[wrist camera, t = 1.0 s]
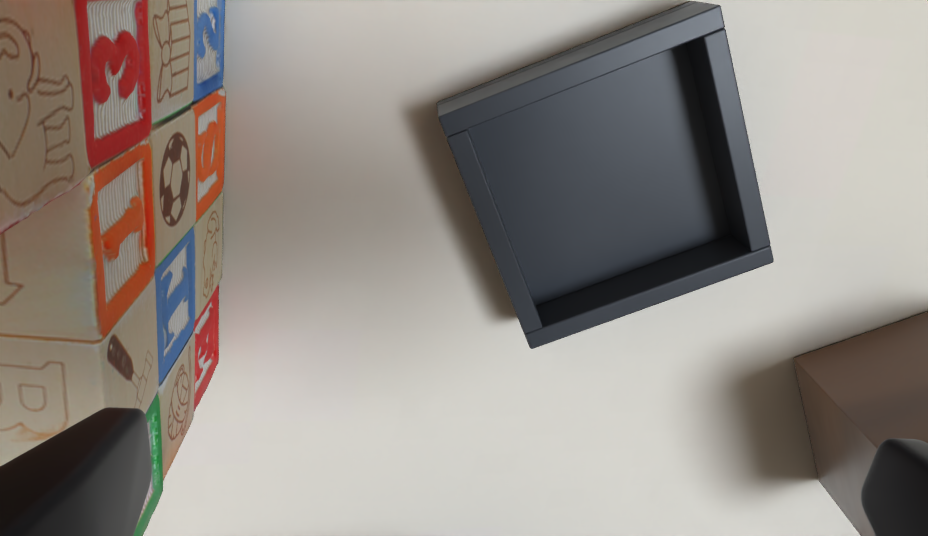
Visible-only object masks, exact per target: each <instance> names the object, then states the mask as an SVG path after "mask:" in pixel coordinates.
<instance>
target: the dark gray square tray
mask: <svg viewBox="0 0 928 536" xmlns="http://www.w3.org/2000/svg"><path fill="white" fill-rule="evenodd" d="M724 27H725V25H724V21H723V16H722V11H721V6H720V5H715V4H709V3H703V2H696V1H690V2H687V3H685V4H682V5H680V6H677V7H675V8H672V9H670V10H667V11H665V12H662V13H660V14H657V15H655V16H652V17H650V18H647V19H645V20H642V21H640V22H637V23H635V24H632V25H630V26H627V27H625V28H622V29H620V30H617V31H615V32H612V33H610V34H607V35H605V36H602V37H600V38H597V39H595V40H592V41H590V42H587V43H585V44H582V45H580V46H577V47H575V48H572V49H570V50H567V51H565V52H562V53H560V54H557V55H555V56H552V57H550V58H547V59H545V60H542V61H540V62H537V63H535V64H532V65H530V66H527V67H525V68H522V69H520V70H517V71H515V72H512V73H510V74H507V75H504V76H502V77H499V78H497V79H494V80H492V81H489V82H487V83H484V84H482V85H479V86H477V87H474V88H472V89H469V90H467V91H464V92H462V93H459V94H457V95H454V96H452V97H449V98H447V99H444V100H442V101H439V102H438V103H437V111H438V118H439V121H440V123H441V126H442V128H443V131H444V133H445V136H446V137H447V141H448V143H449V146H450V148H451V151H452V153H453V156H454V158H455V161H456V164H457V166H458V169H459V171H460V174H461V176H462V179H463V181H464V184H465V186H466V189H467V191H468V194H469V196H470V199H471V201H472V204H473V206H474V209H475V211H476V214H477V216H478V219H479V221H480V224H481V226H482V229H483V231H484V234H485V236H486V239H487V241H488V244H489V246H490V249H491V251H492V254H493V256H494V259H495V262H496V264H497V267H498V269H499V272H500V274H501V277H502V279H503V282H504V284H505V287H506V289H507V292H508V294H509V297H510V299H511V302H512V304H513V307H514V309H515V312H516V314H517V317H518V319H519V322H520V324H521V327H522V329H523V332H524V334H525V337H526V339H527V342H528V344H529V347H530V348H531V349H533V348H536V347H539V346H542V345H544V344H547V343H550V342H553V341H556V340H558V339H561V338H564V337H567V336H569V335H572V334H575V333H578V332H581V331H583V330H586V329H589V328H592V327H594V326H597V325H600V324H603V323H606V322H608V321H611V320H614V319H617V318H620V317H622V316H625V315H628V314H631V313H633V312H636V311H639V310H642V309H645V308H647V307H650V306H653V305H656V304H659V303H661V302H664V301H667V300H670V299H672V298H675V297H678V296H681V295H684V294H686V293H689V292H692V291H695V290H697V289H700V288H703V287H706V286H709V285H711V284H714V283H717V282H720V281H723V280H725V279H728V278H731V277H734V276H736V275H739V274H742V273H745V272H748V271H750V270H753V269H756V268H759V267H762V266H764V265H767V264H770V263H772V262H773V255H772V251H771V246H770V240H769V235H768V230H767V226H766V221H765V216H764V211H763V207H762V202H761V197H760V192H759V187H758V183H757V178H756V173H755V168H754V164H753V159H752V154H751V149H750V145H749V140H748V135H747V130H746V125H745V121H744V116H743V111H742V106H741V102H740V97H739V92H738V87H737V83H736V78H735V73H734V68H733V63H732V59H731V54H730V49H729V44H728V40H727V35H726V30H725V29H724Z"/></svg>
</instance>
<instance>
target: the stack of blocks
mask: <svg viewBox="0 0 928 536" xmlns="http://www.w3.org/2000/svg"><path fill="white" fill-rule="evenodd" d="M224 19H225V0H0V466H2V465H4V464H5V463H7V462H9V461H11V460H12V459H14V458H16V457H18V456H20V455H21V454H23V453H25V452H27V451H28V450H30V449H32V448H34V447H36V446H37V445H39V444H41V443H43V442H44V441H46V440H48V439H50V438H51V437H53V436H55V435H57V434H59V433H60V432H62V431H64V430H66V429H67V428H69V427H71V426H73V425H75V424H76V423H78V422H80V421H82V420H83V419H85V418H87V417H89V416H91V415H92V414H94V413H96V412H98V411H99V410H101V409H104V408H107V407H118V408H138V409H141V410H142V411H143V412H144V413H145V416H146V418H147V424H148V434H149V443H150V453H151V463H152V475H151V482H150V486H149V490H148V493H147V496H146V499H145V502H144V505H143V508H142V511H141V514H140V517H139V520H138V523H137V526H136V529H135V533H134V536H143V534H144V532H145V530H146V528H147V526H148V523H149V521H150V518H151V516H152V514H153V512H154V511H155V508H156V506H157V504H158V501H159V499H160V496H161V494H162V491H163V480H164V478H165V476H166V474H167V472H168V470H169V468H170V466H171V464H172V462H173V460H174V458H175V456H176V454H177V452H178V449H179V447H180V445H181V443H182V441H183V439H184V437H185V435H186V433H187V431H188V429H189V427H190V425H191V422H192V420H193V416H194V411H195V409H196V407H197V405H198V404H199V402H200V400H201V398H202V396H203V394H204V392H205V391H206V389H207V387H208V384H209V382H210V380H211V377H212V375H213V373H214V371H215V368H216V366H217V364H218V360H219V328H218V327H219V312H218V309H219V299H218V294H219V285H218V283H219V281H220V280H221V277H222V243H223V193H222V188H223V184H224V155H225V106H226V91H225V89H224V87H223V84H222V83H223V71H224Z"/></svg>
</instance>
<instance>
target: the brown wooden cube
mask: <svg viewBox="0 0 928 536" xmlns="http://www.w3.org/2000/svg"><path fill="white" fill-rule="evenodd" d="M793 360H794V365H795V369H796V374H797V379H798V384H799V388H800V393H801V398H802V403H803V407H804V412H805V417H806V422H807V426H808V431H809V436H810V441H811V445H812V450H813V455H814V460H815V464H816V469H817V474H818V479H819V482H820V483H821V484H822V485H823V487H824V488H825V489H826V491H827V492H828V493H829V495H830V496H831V497H832V499H833V500H834V501H835V502H836V504H837V505H838V506H839V508H840V509H841V510H842V512H843V513H844V514H845V515H846V517H847V518H848V519H849V521H850V522H851V523H852V525H853V526H854V527H855V528H856V530H857V531H858V532H859V534H860V535H861V536H875V534H874V532H873V529H872V527H871V525H870V523H869V521H868V519H867V517H866V515H865V512H864V510H863V507H862V503H861V489H862V486H863V483H864V481H865V478H866V476H867V473H868V471H869V468H870V466H871V463H872V461H873V458H874V456H875V453H876V451H877V449H878V447H879V445H880V444H881V443H882V442H883V441H884V440H887V439H890V438H897V439H917V440H921V441H924V442H926V443H928V312H925V313H922V314H920V315H917V316H914V317H911V318H908V319H905V320H902V321H899V322H896V323H893V324H891V325H888V326H885V327H882V328H879V329H876V330H873V331H870V332H867V333H864V334H862V335H859V336H856V337H853V338H850V339H847V340H844V341H841V342H838V343H836V344H833V345H830V346H827V347H824V348H821V349H818V350H815V351H812V352H809V353H807V354H804V355H801V356H798V357H795V358H793Z"/></svg>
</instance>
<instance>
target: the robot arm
mask: <svg viewBox="0 0 928 536" xmlns="http://www.w3.org/2000/svg"><path fill="white" fill-rule="evenodd" d="M151 475H152V463H151V453H150V443H149V434H148V424H147V418H146V416H145V413H144V412H143V411H142V410H141V409H138V408H118V407H107V408H104V409H101V410H99V411H98V412H96V413H94V414H92V415H91V416H89V417H87V418H85V419H83V420H82V421H80V422H78V423H76V424H75V425H73V426H71V427H69V428H67V429H66V430H64V431H62V432H60V433H59V434H57V435H55V436H53V437H51V438H50V439H48V440H46V441H44V442H43V443H41V444H39V445H37V446H36V447H34V448H32V449H30V450H28V451H27V452H25V453H23V454H21V455H20V456H18V457H16V458H14V459H12V460H11V461H9V462H7V463H5V464H4V465H2V466H0V536H134V533H135V529H136V526H137V523H138V520H139V517H140V514H141V511H142V508H143V505H144V502H145V499H146V496H147V493H148V490H149V486H150V482H151ZM861 503H862V507H863V510H864V512H865V515H866V517H867V519H868V521H869V523H870V525H871V527H872V529H873V532H874V534H875V536H928V443H926V442H924V441H921V440H917V439H897V438H890V439H887V440H884V441H883V442H882V443H881V444H880V445H879V447H878V449H877V451H876V453H875V456H874V458H873V461H872V463H871V466H870V468H869V471H868V473H867V476H866V478H865V481H864V483H863V486H862V489H861Z"/></svg>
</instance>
